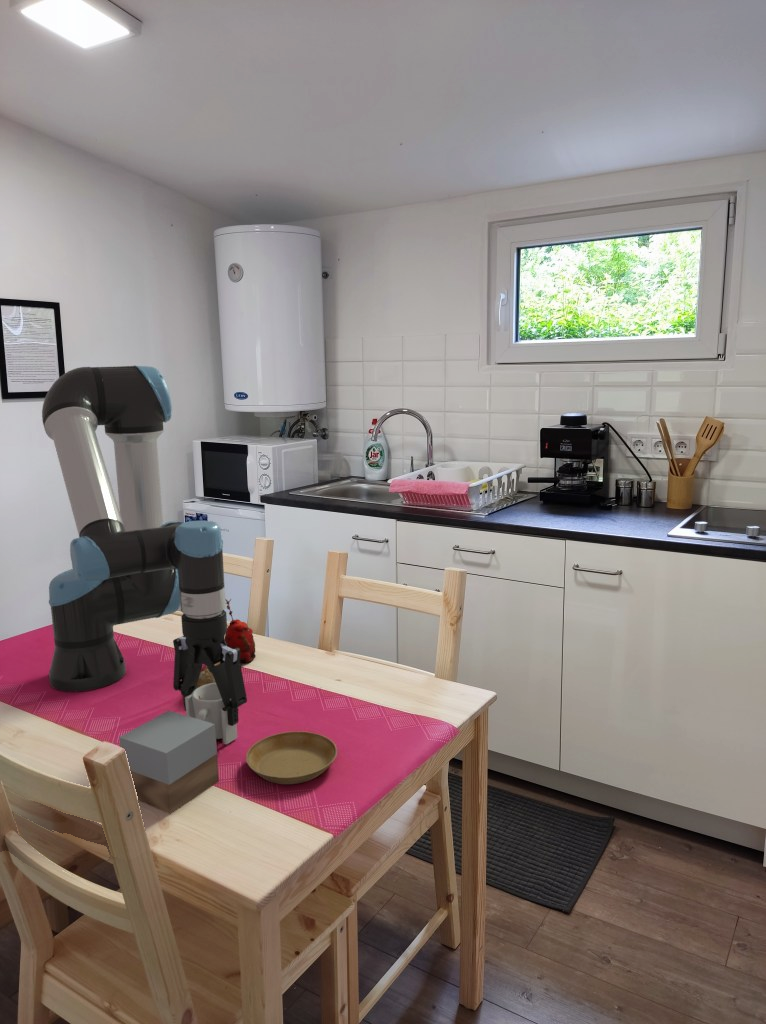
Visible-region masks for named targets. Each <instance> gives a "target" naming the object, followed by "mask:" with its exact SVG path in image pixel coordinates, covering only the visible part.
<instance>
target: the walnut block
mask: <svg viewBox="0 0 766 1024" xmlns="http://www.w3.org/2000/svg"><path fill="white" fill-rule="evenodd" d="M218 764H219V762H218V753H217V754H216V755H214V756H213V757H211V758H210V759H208V760H206V761H205V762H203V763H202V764H200V765H199V766H197V767H196V768H194V769H193V770H191V771H190V772H188V773H187V774H185V775H184V776H182V777H180V778H179V779H177V780H176V781H174V782H173V783H171V784H170V785H168V784H165V783H163V782H160V781H157V780H155V779H152V778H149V777H147V776H144V775H141V774H138V773H136V772H133V771H131V774H132V778H133V781H134V785H135V789H136V792H137V796H138V800H139V801H138V800H137V801H138V802H140V803H143V804H146V805H147V804H148V806H150V807H153V808H155V809H158V810H159V811H163V812H164V813H168V814H169V815H172V814H173V813H175V812H176V811H178V810H179V809H181V808H182V807H184V806H186V804H189V802H190V801H193V800H194V799H195V798H197V797H199V796H200V795H201V794H203V793H204V792H205V791H207V790H208V789H210V788H212V787H213V786H214V785H216V784H218V783H219V782H220V779H219V778H220V777H219V765H218Z"/></svg>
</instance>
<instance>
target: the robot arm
mask: <svg viewBox="0 0 766 1024" xmlns="http://www.w3.org/2000/svg"><path fill="white" fill-rule="evenodd" d="M172 407H173V406H172V398H171V395H170V391H169V387H168V385H167V381H166V380H165V378H164V376H163V374H162V372H160V370H158V369H157V368H156V367H154V366H145V365H144V366H143V365H124V366H123V365H121V366H96V367H95V366H94V367H93V366H92V367H91V366H82V367H76V368H73V369H71V370H69V371H67V372H65V373H63V374H62V375H61V376H60V377H58V378H57V379H56V380H55V381H54V382H53V384H51V386H50V388H49V390H48V391H47V392H46V395H45V398H44V400H43V403H42V410H41V418H42V419H41V421H42V425H43V428H44V431H45V432H44V433H45V434H46V435H47V437H48V438H49V439H51V440H52V441H53V443H54V444H53V445H54V447H55V452H56V455H57V459H58V462H59V466H60V469H61V474H62V478H63V481H64V484H65V488H66V489H65V490H66V492H67V496H68V499H69V503H70V507H71V511H72V515H73V519H74V521H75V526H76V530H77V534H78V537H76V538H73V539H72V540H71V542H70V546H69V547H70V548H69V553H70V561H71V567H72V568H71V569H67V570H65V571H63V572H61V573H58V574H57V575H55V576H54V577H53V578H52V579H51V580H50V582H49V586H48V594H49V595H48V596H49V597H48V598H49V599H48V604H49V605H50V613H51V622H52V630H53V631H52V632H53V633H52V634H53V641H54V650H53V653H52V655H53V656H52V659H51V665H50V669H49V671H48V676H49V677H48V680H49V685H50V687H52V688H53V689H55V690H56V691H60V692H61V691H62V692H84V691H91V690H96V689H99V688H103V687H106V686H109V685H112V684H113V683H115V682H117V681H120V680H121V679H122V678H123V677H124V676H125V675H126V672H127V670H126V669H127V668H126V661H125V658H124V656H123V654H122V652H121V650H120V647H119V646H118V644H117V641H116V639H115V635H114V626H118V625H124V624H128V623H133V622H138V621H143V620H150V619H155V618H156V619H158V618H161V617H163V616H167V615H171V614H174V613H176V612H177V611H178V610H179V608H180V611H181V613H182V614H181V617H180V618H181V629H182V630H181V631H182V636H179V637H177V638H175V639H173V640H172V643H173V649H174V662H173V663H174V666H173V668H174V669H173V684H172V685H173V686H172V687H173V689H174V691H179V692H180V695H182V696H181V697H183V700H182V701H183V709H184V712H185V713H186V714H185V715H186V716H190V717H193V718H196V717H195V711H194V706H193V701H192V693H193V692H194V690H196V688H197V687H196V686H197V682H198V679H199V676H200V672H201V671H202V670H203V669H202V668H203V665H204V666H205V667H208V670H209V672H211V673H212V674H213V676H214V679H215V682H216V684H217V687H218V690H219V692H220V695H221V698H222V701H223V703H224V707H223V708H221V715H222V730H223V738H222V743H223V744H225V745H229V744H230V743H231V742H233V741H234V740H236V739H238V726H237V724H238V723H239V719H240V718H239V707H241V706H242V705H244V704H246V703H247V702H248V697H247V693H246V687H245V680H244V681H243V679H244V675H243V672H242V666H241V664H240V653H241V652H240V649H239V648H235V649H231V648H229V647H227V644H226V641H225V634H226V631H227V628H228V621H227V620H228V619H227V611H226V609H227V604H226V603H227V601H226V600H227V599H226V600H225V598H226V590H225V572H224V571H225V570H224V553H223V547H224V541H223V539H222V537H223V536H222V531H221V527H220V524H218V523H217V522H216V521H212V520H210V521H209V520H190V521H185V522H184V521H179V520H178V521H177V520H172V521H168V522H165V523H164V520H163V518H164V517H163V504H162V495H161V493H162V492H161V482H160V481H161V479H160V477H161V476H160V467H159V465H160V463H159V453H158V451H159V450H158V438H159V437H160V436H161V435H162V433H164V423H167V422H169V421H170V420H171V418H172V411H173V408H172ZM98 426H104V432H105V435H106V436H108V438H110V439H111V440H112V442H113V447H114V449H113V450H114V457H115V458H114V459H115V460H114V461H115V470H116V471H115V472H116V473H115V474H116V482H117V493H118V502H117V500H116V496H115V492H114V489H113V486H112V482H111V479H110V477H109V473H108V469H107V466H106V463H105V459H104V457H103V453H102V450H101V446H100V444H99V440H98V437H97V433H96V430H98V429H97V428H98ZM218 662H220V664H218V665H216V666H215V665H214V664H217V663H218ZM230 699H231V700H230ZM236 723H237V724H236Z"/></svg>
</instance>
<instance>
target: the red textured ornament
mask: <svg viewBox="0 0 766 1024" xmlns="http://www.w3.org/2000/svg"><path fill="white" fill-rule="evenodd" d="M225 600H226V609H227V610H229V613H228V614H229V615H230V617H231V621H230V622H229V624H228V625H227V631H226V633H225V637H224V638H225V641H226V644H227V647H229V648H231V649H235V648H239V649H240V652H241V653H240V665H241V664H243V663H245V664H248V663H251V662H252V660H254V659H256V642H255V639H254V634H253V629H252V628H251V627H249V626H248V623H247V622H245V621H241V620H240V619H237V618H236V619H233V615H232V614H233V610H231V606H230V602H231V600H232V598H230V600H228V599H227V598H226V597H225Z"/></svg>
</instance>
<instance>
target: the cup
mask: <svg viewBox="0 0 766 1024" xmlns="http://www.w3.org/2000/svg"><path fill="white" fill-rule="evenodd" d="M230 700H231V699H230ZM192 701H193V706H194V711H195V717H196V719H200V720H203V721H206V722H210V723H213V724H215V732H216V740H221V739H222V740H223V730H222V715H221V708H223V707H224V703H223V701H222V698H221V695H220V692H219V690H218V687H217V684H216V683H210V684H206V685H203V686H201V687H199V688H197V689H196V690H194V692H193V693H192ZM236 724H238V723H236Z"/></svg>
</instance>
